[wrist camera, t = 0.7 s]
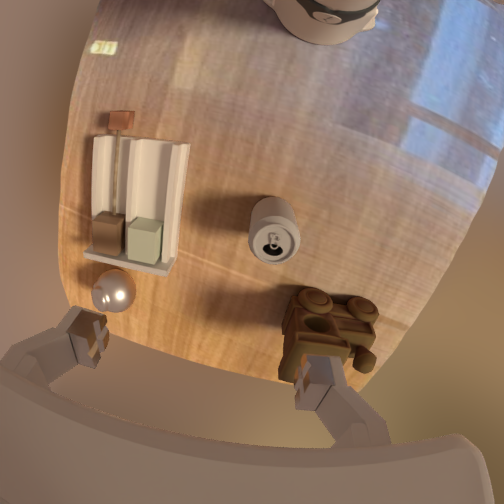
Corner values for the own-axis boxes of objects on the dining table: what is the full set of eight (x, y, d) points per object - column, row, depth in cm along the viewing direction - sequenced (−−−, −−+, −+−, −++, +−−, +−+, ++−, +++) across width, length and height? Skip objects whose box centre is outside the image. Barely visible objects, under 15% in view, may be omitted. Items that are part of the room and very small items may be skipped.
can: (247, 230, 53) (242, 263, 42) (256, 190, 50) (253, 214, 39) (287, 239, 54) (293, 273, 43) (299, 200, 50) (308, 227, 40)
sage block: (138, 216, 50) (127, 227, 46) (164, 221, 51) (155, 232, 46) (137, 246, 53) (127, 258, 49) (162, 251, 53) (154, 264, 49)
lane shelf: (102, 133, 45) (82, 138, 39) (190, 143, 46) (179, 148, 40) (100, 241, 55) (83, 257, 49) (177, 257, 56) (166, 276, 50)
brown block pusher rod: (115, 110, 43) (96, 112, 37) (141, 111, 44) (123, 113, 38) (109, 235, 54) (93, 251, 48) (131, 240, 55) (116, 256, 49)
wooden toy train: (274, 323, 63) (275, 383, 48) (289, 279, 58) (296, 338, 43) (357, 336, 64) (374, 392, 49) (378, 297, 59) (404, 351, 44)
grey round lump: (106, 253, 57) (83, 278, 48) (146, 271, 58) (128, 300, 49) (101, 285, 60) (80, 312, 52) (137, 303, 62) (121, 332, 53)
